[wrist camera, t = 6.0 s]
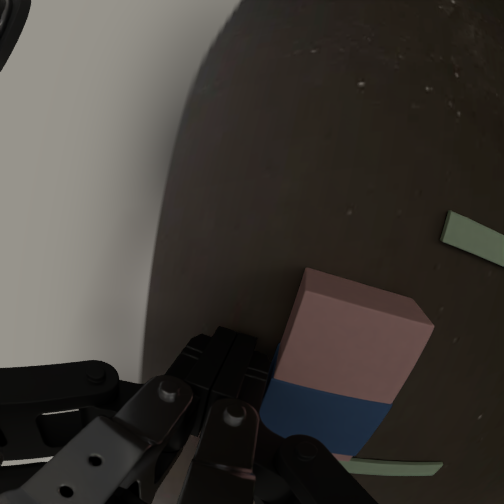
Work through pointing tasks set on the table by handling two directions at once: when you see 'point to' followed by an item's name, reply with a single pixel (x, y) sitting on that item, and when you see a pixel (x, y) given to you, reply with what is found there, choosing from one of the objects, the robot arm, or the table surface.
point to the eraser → (341, 361)
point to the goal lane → (476, 242)
